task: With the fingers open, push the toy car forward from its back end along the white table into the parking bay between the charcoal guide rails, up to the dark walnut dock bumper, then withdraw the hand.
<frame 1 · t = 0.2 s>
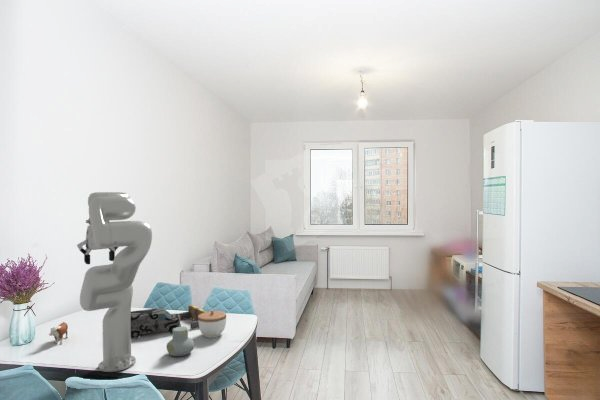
hand: (99, 262, 162), 36 cm above the table, tool pointing down, fingers open, 9 cm apart
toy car: (153, 332, 179), on the table
lidded bowl: (212, 335, 174), on the table
air freshener: (180, 354, 153), on the table
bull figurine: (59, 342, 167), on the table
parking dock: (191, 322, 191), on the table
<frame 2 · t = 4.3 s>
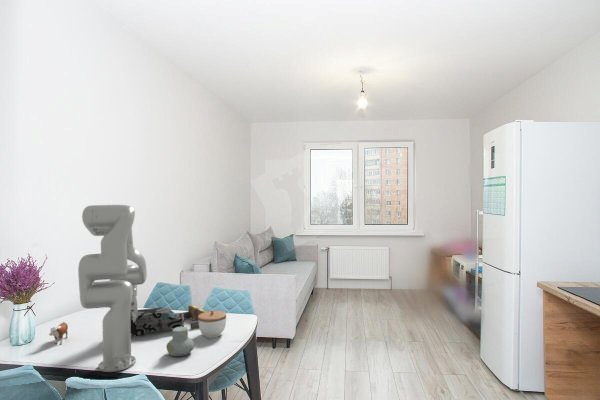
hand: (128, 330, 172), 3 cm above the table, tool pointing down, fingers open, 9 cm apart
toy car: (156, 331, 180), on the table
everything else where it was.
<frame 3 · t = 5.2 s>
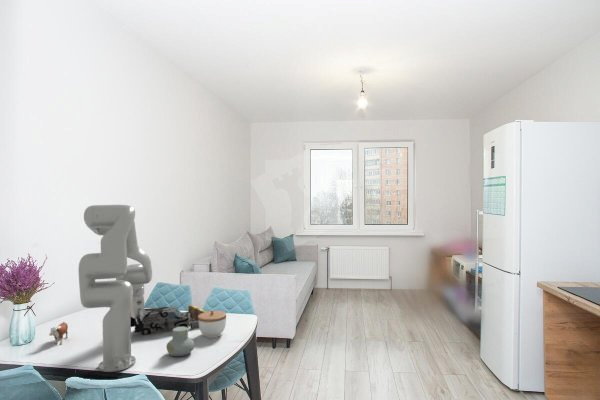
hand: (135, 329, 174), 3 cm above the table, tool pointing down, fingers open, 9 cm apart
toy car: (163, 330, 181), on the table, touching gripper
everything else where it was.
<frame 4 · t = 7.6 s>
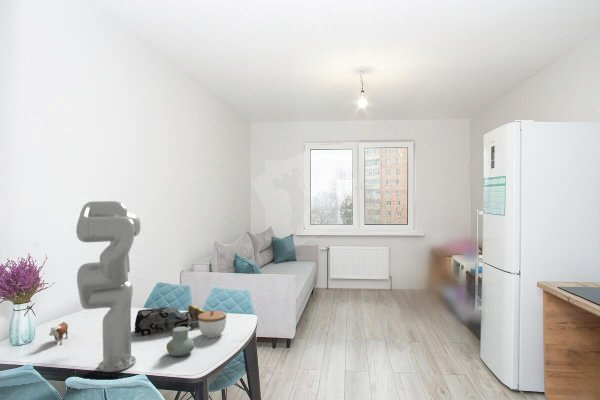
hand: (120, 285, 169), 24 cm above the table, tool pointing down, fingers open, 9 cm apart
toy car: (163, 330, 181), on the table
everything else where it was.
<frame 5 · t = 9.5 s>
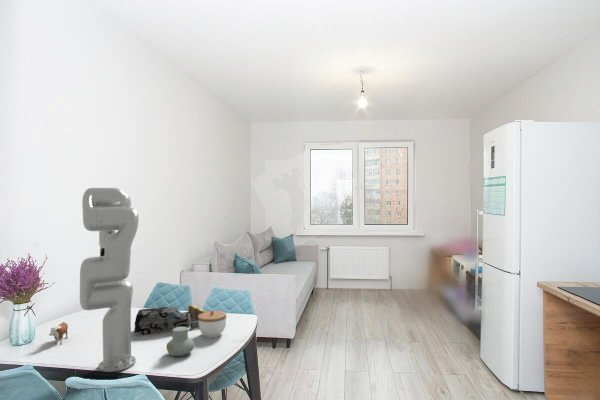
hand: (107, 260, 174), 34 cm above the table, tool pointing down, fingers open, 9 cm apart
at the end: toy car inside the target area (3.0 cm from its centre), on the table; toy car tilted 0°; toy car moved 4.9 cm from its start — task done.
